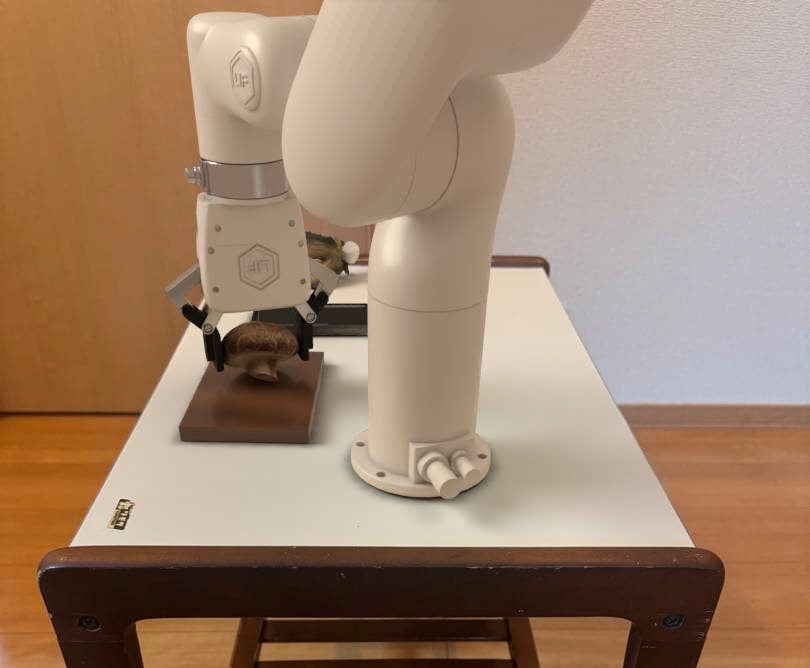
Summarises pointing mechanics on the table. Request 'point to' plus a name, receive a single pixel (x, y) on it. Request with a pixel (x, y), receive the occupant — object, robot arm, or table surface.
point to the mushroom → (259, 348)
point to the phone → (323, 318)
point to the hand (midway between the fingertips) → (260, 360)
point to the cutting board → (255, 404)
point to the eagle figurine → (331, 253)
